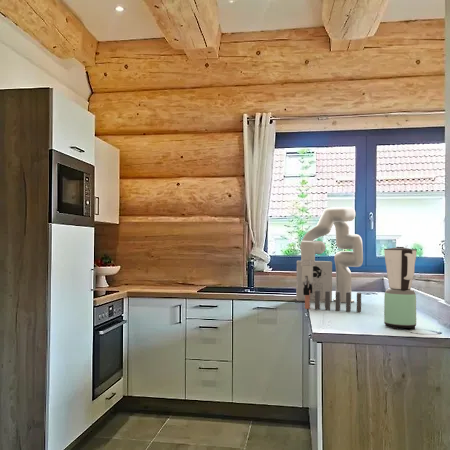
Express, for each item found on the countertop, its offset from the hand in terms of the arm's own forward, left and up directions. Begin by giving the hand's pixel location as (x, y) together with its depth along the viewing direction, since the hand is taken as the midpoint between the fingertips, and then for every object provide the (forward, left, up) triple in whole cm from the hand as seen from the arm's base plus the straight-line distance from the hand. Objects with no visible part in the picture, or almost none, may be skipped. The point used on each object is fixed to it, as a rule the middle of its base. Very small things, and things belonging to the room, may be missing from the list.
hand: (307, 294), depth 253 cm
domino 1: (0, 0, -8) cm, 8 cm away
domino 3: (0, +11, -8) cm, 13 cm away
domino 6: (0, +27, -8) cm, 28 cm away
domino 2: (0, +5, -8) cm, 10 cm away
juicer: (+42, +47, -8) cm, 64 cm away
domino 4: (0, +16, -8) cm, 18 cm away
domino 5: (0, +22, -8) cm, 23 cm away
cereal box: (-38, -3, -8) cm, 39 cm away
